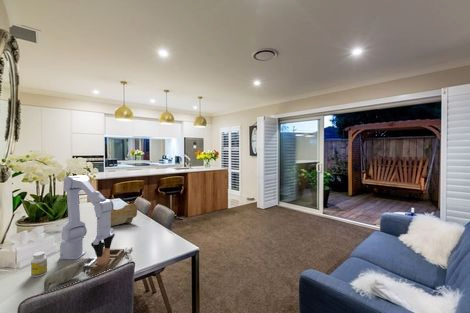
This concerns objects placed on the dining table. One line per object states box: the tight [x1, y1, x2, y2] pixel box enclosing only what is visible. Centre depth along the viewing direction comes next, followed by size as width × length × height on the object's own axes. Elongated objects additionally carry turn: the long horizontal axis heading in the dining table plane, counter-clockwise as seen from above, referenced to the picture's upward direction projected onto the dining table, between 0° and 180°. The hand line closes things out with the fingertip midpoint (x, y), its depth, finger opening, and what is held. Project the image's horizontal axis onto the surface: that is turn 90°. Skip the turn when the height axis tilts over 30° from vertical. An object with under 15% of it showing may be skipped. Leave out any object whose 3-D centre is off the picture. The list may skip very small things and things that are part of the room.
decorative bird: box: [43, 258, 90, 291], centre depth 97 cm, size 5×16×7 cm, turn 145°
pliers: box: [124, 246, 133, 263], centre depth 120 cm, size 10×2×15 cm
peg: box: [96, 247, 111, 265], centre depth 107 cm, size 4×4×8 cm
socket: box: [75, 256, 97, 270], centre depth 111 cm, size 8×8×2 cm
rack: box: [87, 248, 126, 275], centre depth 112 cm, size 9×20×3 cm, turn 5°
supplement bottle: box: [30, 250, 48, 278], centre depth 101 cm, size 5×5×10 cm
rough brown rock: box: [111, 203, 138, 227], centre depth 172 cm, size 23×17×15 cm
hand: (103, 252), depth 107 cm, fingers open, 7 cm apart
